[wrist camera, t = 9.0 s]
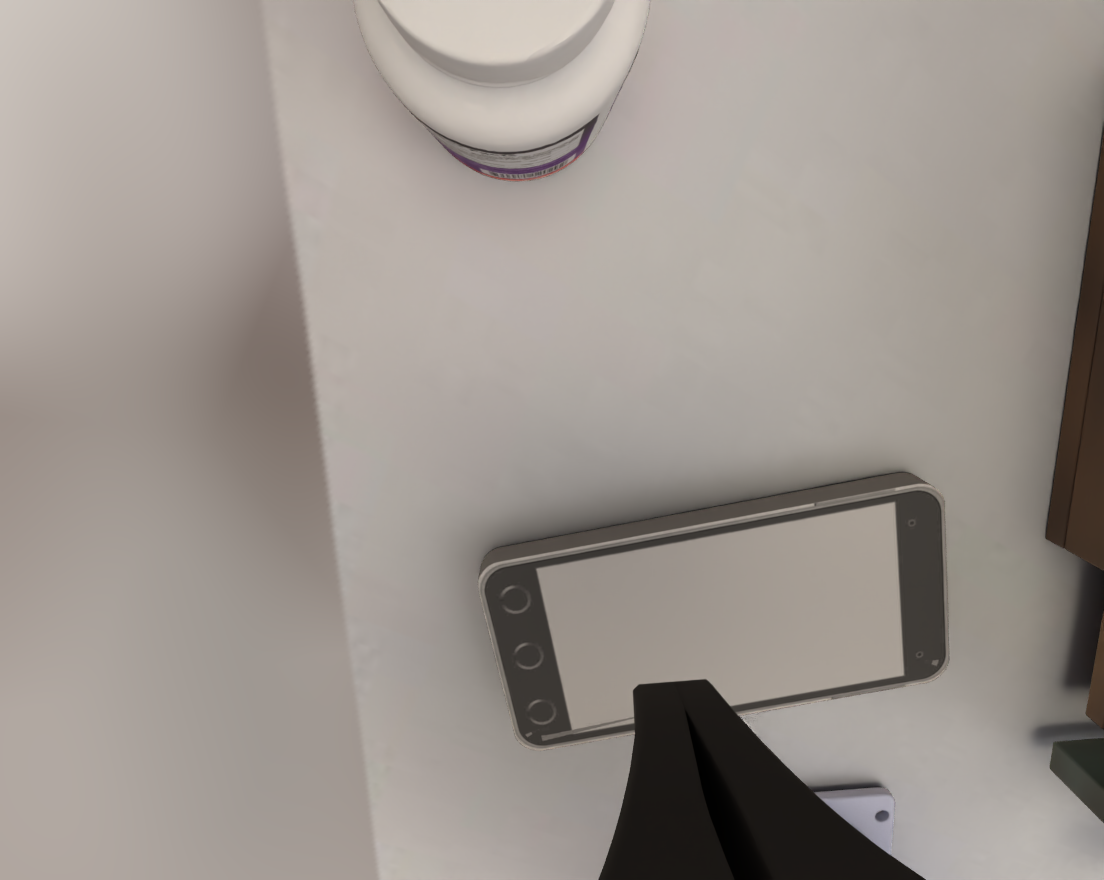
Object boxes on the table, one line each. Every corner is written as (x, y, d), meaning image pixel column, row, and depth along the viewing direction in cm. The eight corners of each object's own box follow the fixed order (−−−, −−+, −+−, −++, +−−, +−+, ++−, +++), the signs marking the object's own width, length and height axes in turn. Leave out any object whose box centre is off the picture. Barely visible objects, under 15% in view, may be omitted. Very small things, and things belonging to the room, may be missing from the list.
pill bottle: (487, -79, 17) (426, -477, 8) (651, 54, 18) (772, -160, 9) (381, 107, 18) (217, -44, 9) (540, 223, 19) (541, 196, 10)
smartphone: (472, 566, 21) (944, 478, 20) (475, 551, 22) (924, 467, 21) (519, 754, 23) (949, 678, 22) (520, 733, 24) (932, 660, 23)
